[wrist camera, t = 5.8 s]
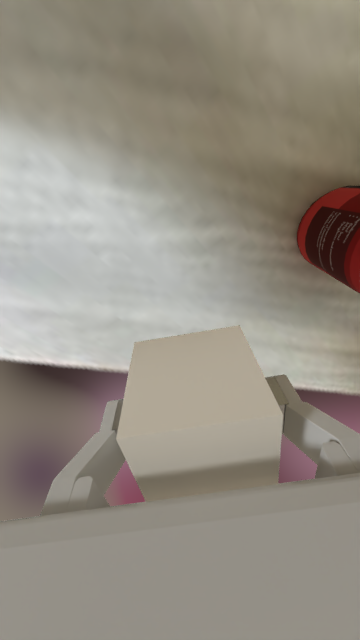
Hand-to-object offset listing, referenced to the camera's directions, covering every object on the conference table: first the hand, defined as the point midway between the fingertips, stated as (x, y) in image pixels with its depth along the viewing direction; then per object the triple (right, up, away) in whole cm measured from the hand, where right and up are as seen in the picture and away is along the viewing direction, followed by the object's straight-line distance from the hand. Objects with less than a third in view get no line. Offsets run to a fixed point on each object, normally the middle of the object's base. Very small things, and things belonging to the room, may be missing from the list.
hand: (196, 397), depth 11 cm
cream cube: (0, +1, +1) cm, 2 cm away
